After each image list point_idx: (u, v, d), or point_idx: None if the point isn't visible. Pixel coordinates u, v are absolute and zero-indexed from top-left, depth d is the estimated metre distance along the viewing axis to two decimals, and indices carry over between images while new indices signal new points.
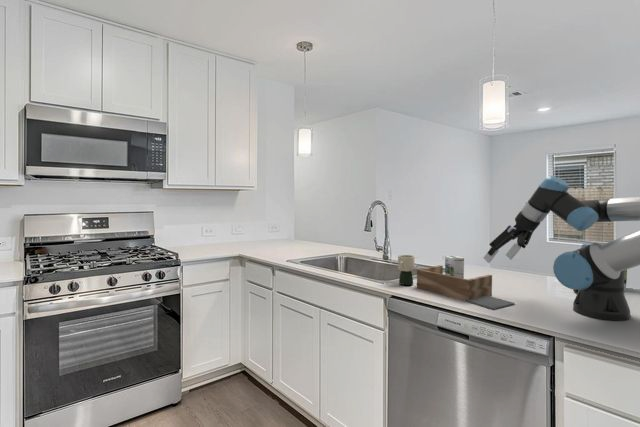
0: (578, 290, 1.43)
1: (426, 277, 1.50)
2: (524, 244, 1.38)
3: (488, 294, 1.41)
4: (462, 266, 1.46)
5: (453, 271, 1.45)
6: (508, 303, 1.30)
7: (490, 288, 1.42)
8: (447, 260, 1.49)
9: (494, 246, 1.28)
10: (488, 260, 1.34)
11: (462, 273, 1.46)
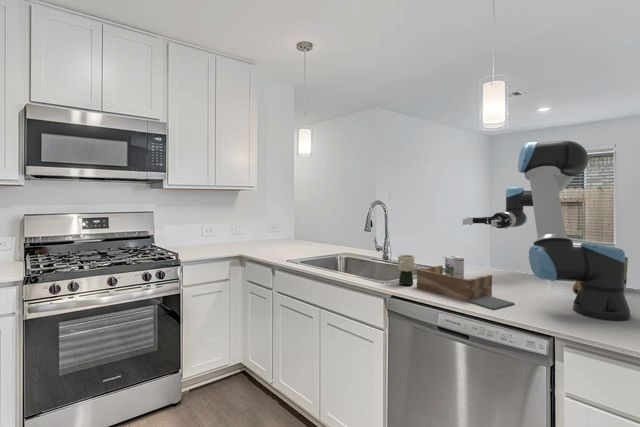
0: (578, 290, 1.43)
1: (426, 277, 1.50)
2: (506, 221, 1.53)
3: (488, 294, 1.41)
4: (462, 266, 1.46)
5: (453, 271, 1.45)
6: (508, 303, 1.30)
7: (490, 288, 1.42)
8: (447, 260, 1.49)
9: None
10: None
11: (462, 273, 1.46)
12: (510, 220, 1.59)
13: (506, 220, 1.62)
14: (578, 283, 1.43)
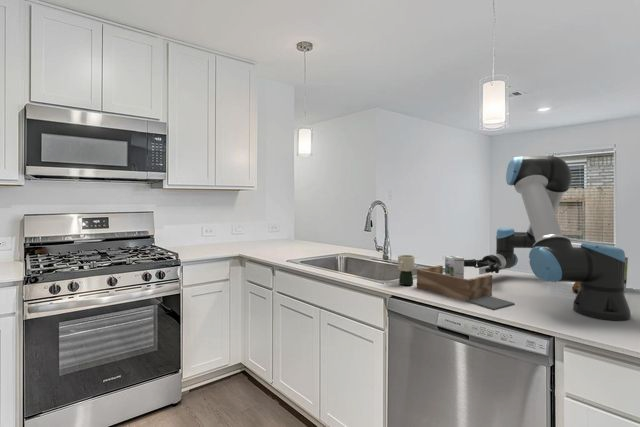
0: (577, 290, 1.43)
1: (426, 277, 1.50)
2: (495, 268, 1.50)
3: (488, 294, 1.41)
4: (462, 266, 1.46)
5: (453, 271, 1.45)
6: (508, 303, 1.30)
7: (490, 288, 1.42)
8: (447, 260, 1.49)
9: None
10: None
11: (462, 273, 1.46)
12: (499, 265, 1.56)
13: (495, 265, 1.58)
14: (578, 283, 1.43)
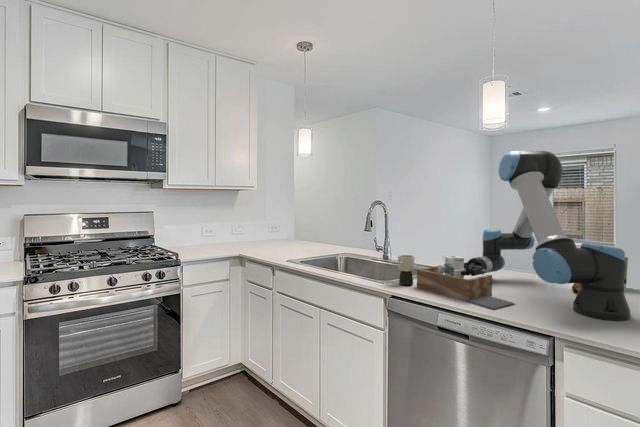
0: (577, 290, 1.43)
1: (426, 277, 1.50)
2: (471, 271, 1.45)
3: (488, 294, 1.41)
4: (462, 266, 1.46)
5: (453, 271, 1.45)
6: (508, 303, 1.30)
7: (490, 288, 1.42)
8: (447, 260, 1.49)
9: None
10: None
11: None
12: (482, 269, 1.49)
13: None
14: (577, 283, 1.43)
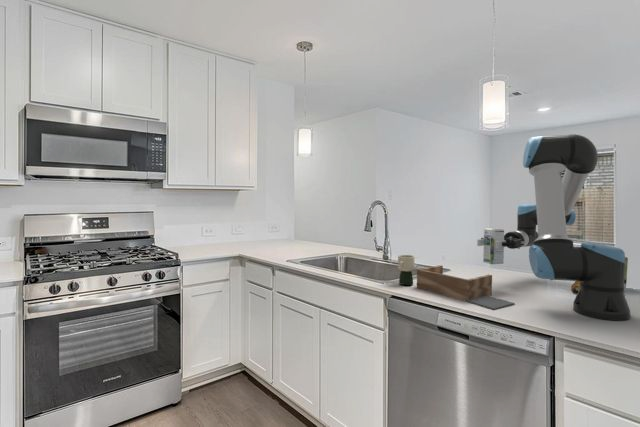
0: (576, 290, 1.43)
1: (426, 277, 1.50)
2: (511, 242, 1.44)
3: (488, 294, 1.41)
4: (502, 237, 1.46)
5: (494, 242, 1.45)
6: (508, 303, 1.30)
7: (490, 288, 1.42)
8: (486, 232, 1.49)
9: None
10: None
11: None
12: (521, 241, 1.49)
13: None
14: (577, 283, 1.43)
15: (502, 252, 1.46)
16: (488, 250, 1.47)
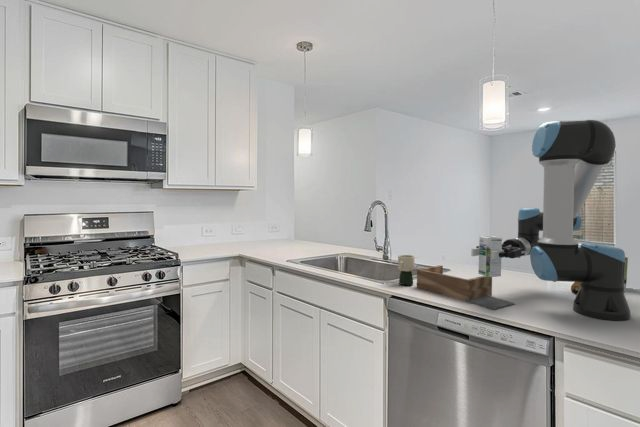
0: (576, 290, 1.43)
1: (426, 277, 1.50)
2: (510, 252, 1.28)
3: (488, 294, 1.41)
4: (500, 247, 1.29)
5: (490, 252, 1.28)
6: (508, 303, 1.30)
7: (490, 288, 1.42)
8: (482, 241, 1.32)
9: None
10: None
11: None
12: (521, 250, 1.32)
13: None
14: (576, 283, 1.43)
15: (499, 263, 1.29)
16: (484, 261, 1.30)
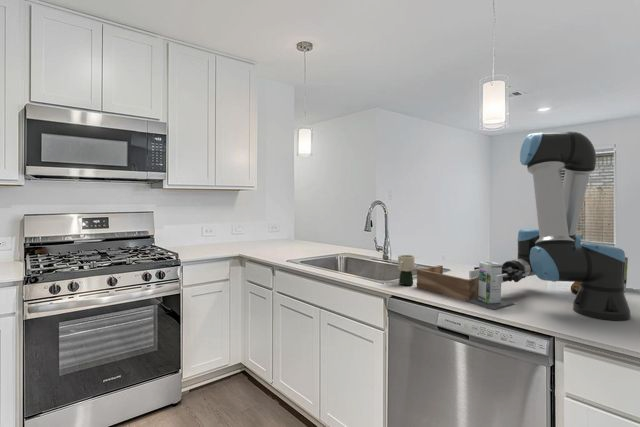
0: (575, 290, 1.43)
1: (426, 277, 1.50)
2: (514, 276, 1.27)
3: None
4: (500, 273, 1.29)
5: (490, 279, 1.29)
6: (508, 303, 1.30)
7: None
8: (482, 267, 1.32)
9: None
10: None
11: None
12: (522, 273, 1.32)
13: None
14: (576, 283, 1.43)
15: (499, 290, 1.30)
16: (484, 287, 1.31)
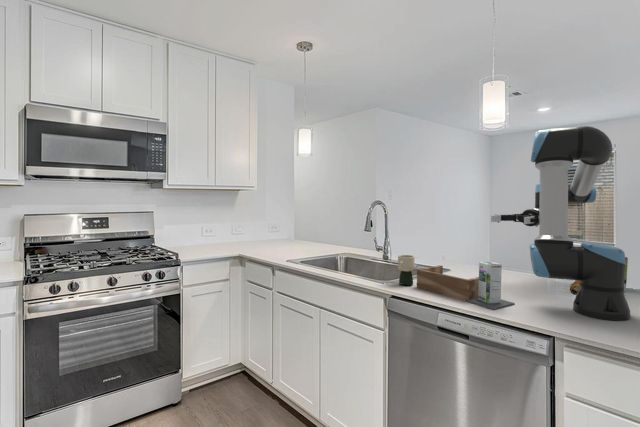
0: (575, 290, 1.43)
1: (426, 277, 1.50)
2: None
3: None
4: (499, 273, 1.30)
5: (490, 279, 1.29)
6: (508, 303, 1.30)
7: None
8: (481, 267, 1.32)
9: None
10: None
11: (499, 281, 1.30)
12: None
13: (538, 217, 1.49)
14: (575, 283, 1.43)
15: (499, 290, 1.30)
16: (484, 287, 1.31)
